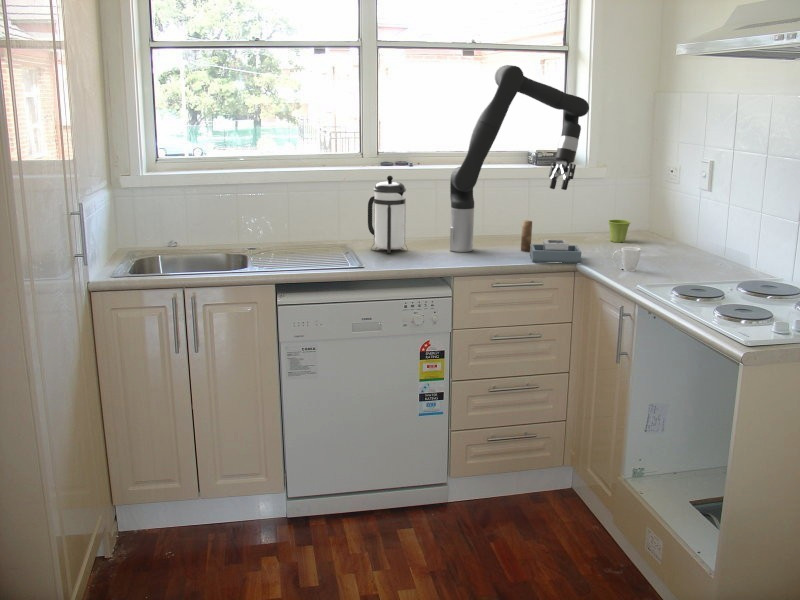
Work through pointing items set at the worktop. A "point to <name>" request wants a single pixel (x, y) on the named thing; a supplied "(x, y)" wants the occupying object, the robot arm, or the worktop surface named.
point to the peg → (526, 235)
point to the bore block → (555, 245)
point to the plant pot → (618, 230)
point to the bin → (555, 254)
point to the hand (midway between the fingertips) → (557, 189)
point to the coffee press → (388, 215)
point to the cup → (629, 257)
